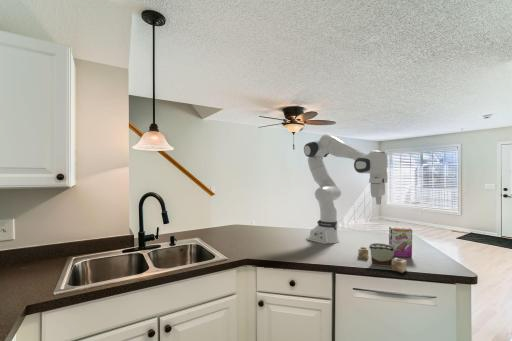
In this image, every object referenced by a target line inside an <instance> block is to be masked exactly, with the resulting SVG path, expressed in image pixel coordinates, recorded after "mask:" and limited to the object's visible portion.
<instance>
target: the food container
mask: <svg viewBox="0 0 512 341" xmlns="http://www.w3.org/2000/svg"><path fill="white" fill-rule="evenodd" d="M368 249H369V251H370V258H371V265H372V266H375V265H376V266H382V267H383V266H384V267H391V268H392V259H394V256H393V252H395V250H394V247H392V246H390V245H389V244H385V243H371V244H369V247H368Z"/></svg>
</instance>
